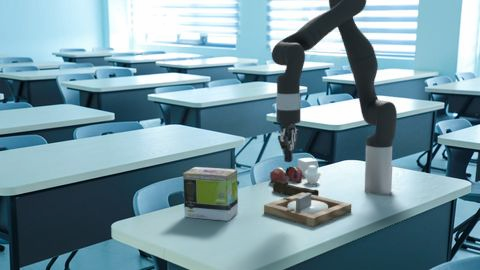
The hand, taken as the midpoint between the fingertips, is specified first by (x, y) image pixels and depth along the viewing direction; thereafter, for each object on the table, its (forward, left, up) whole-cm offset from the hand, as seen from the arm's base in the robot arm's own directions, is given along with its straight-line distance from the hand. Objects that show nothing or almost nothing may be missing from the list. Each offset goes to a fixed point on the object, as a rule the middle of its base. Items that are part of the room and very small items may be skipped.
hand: (288, 161), depth 195 cm
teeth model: (-31, -27, -18) cm, 44 cm away
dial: (-5, +4, -17) cm, 19 cm away
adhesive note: (-46, -28, -18) cm, 57 cm away
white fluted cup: (-36, -18, -18) cm, 44 cm away
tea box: (+18, -17, -18) cm, 30 cm away
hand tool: (-17, -12, -18) cm, 28 cm away
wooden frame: (-5, +4, -17) cm, 19 cm away
